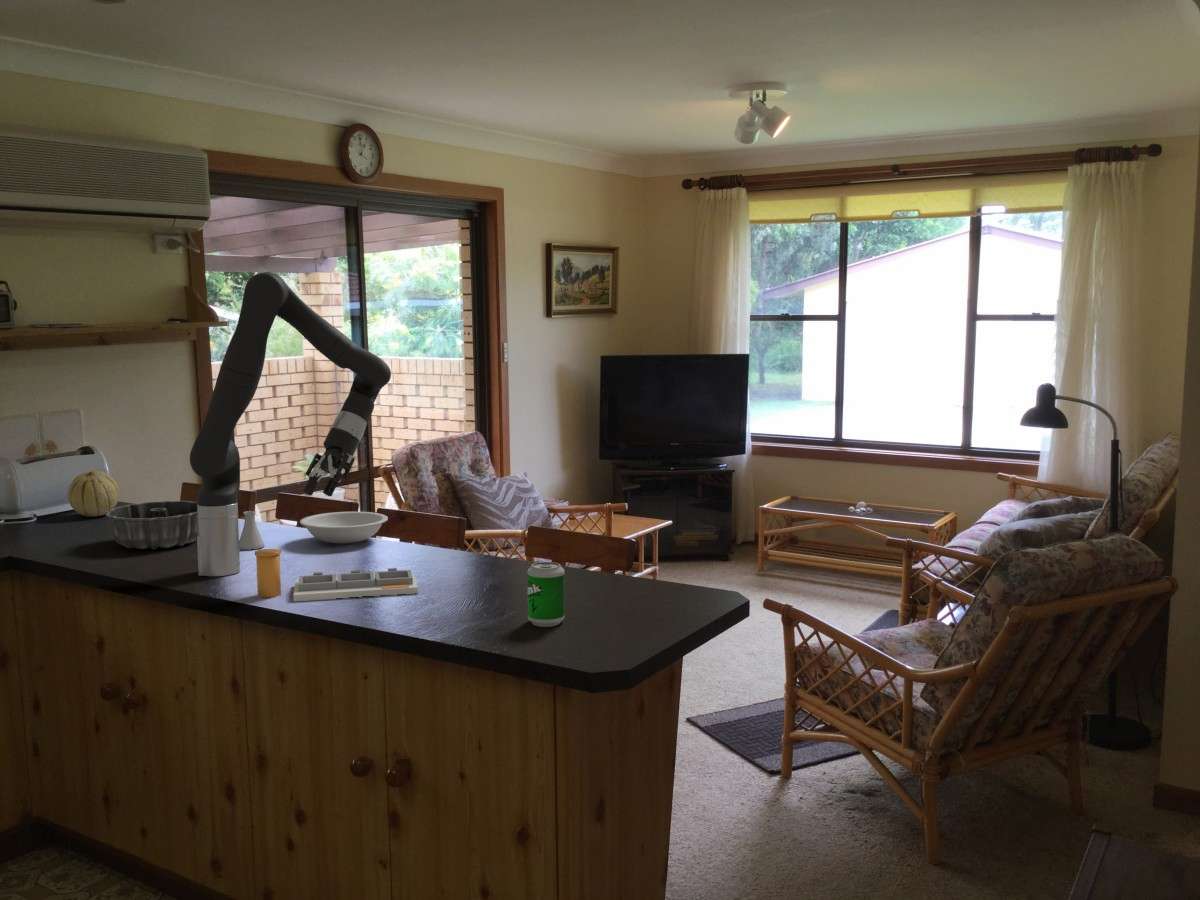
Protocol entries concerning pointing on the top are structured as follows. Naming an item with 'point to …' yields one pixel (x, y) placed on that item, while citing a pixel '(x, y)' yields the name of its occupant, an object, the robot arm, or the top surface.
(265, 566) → the cap
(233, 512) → the robot arm
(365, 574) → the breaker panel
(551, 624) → the soda can
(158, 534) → the bundt pan
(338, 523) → the soup bowl
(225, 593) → the top surface
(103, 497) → the cantaloupe
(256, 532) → the flask
